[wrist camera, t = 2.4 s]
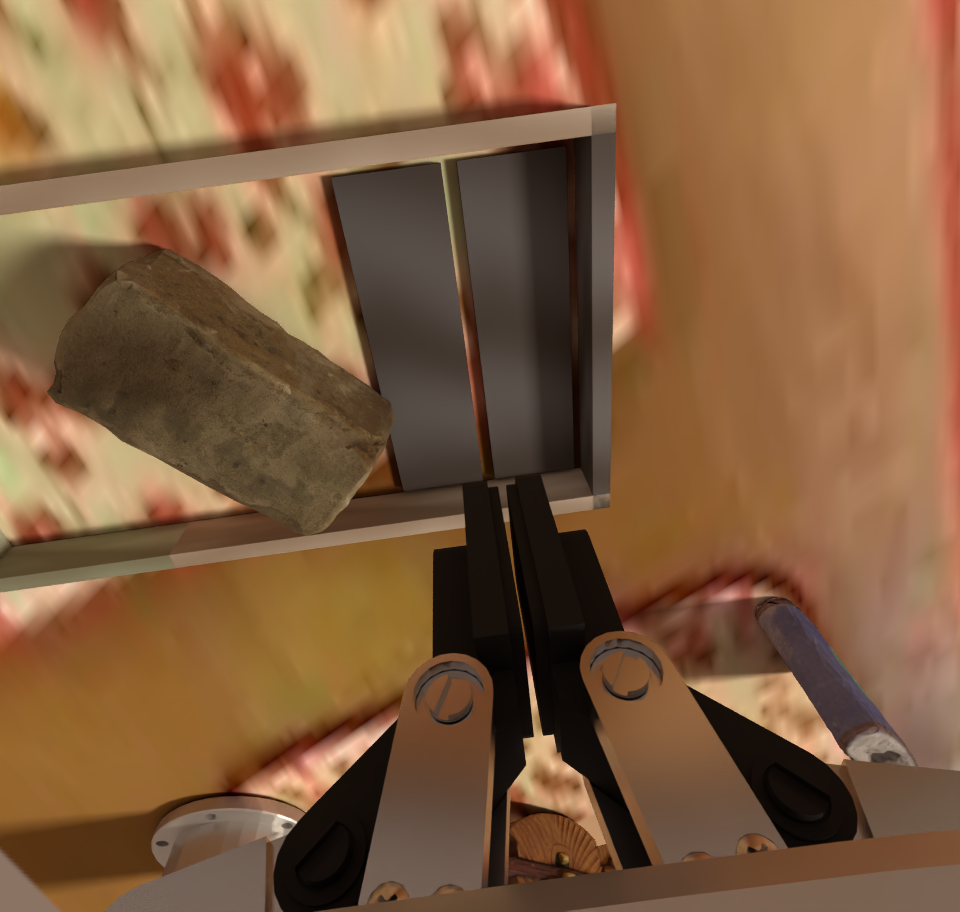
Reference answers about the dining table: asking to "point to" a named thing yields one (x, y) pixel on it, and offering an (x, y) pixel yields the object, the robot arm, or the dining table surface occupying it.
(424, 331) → the box
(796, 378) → the dining table surface
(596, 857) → the wooden carving
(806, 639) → the flask
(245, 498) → the stone block
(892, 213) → the dining table surface
